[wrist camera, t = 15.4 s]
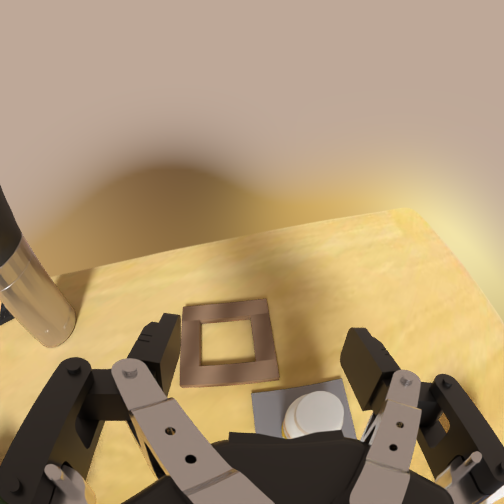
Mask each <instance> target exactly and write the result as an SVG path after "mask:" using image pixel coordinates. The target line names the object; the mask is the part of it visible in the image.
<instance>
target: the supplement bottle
mask: <svg viewBox="0 0 504 504" xmlns="http://www.w3.org/2000/svg"><path fill="white" fill-rule="evenodd" d="M343 416H344V408H343V405H342V403H341V401H340V400H339V398H338V397H337V396H335V395H334V394H332V393H330V392H326V391H315V392H312V393H309V394H306V395H303V396H301V397H299V398H297V399H296V400H295V401H294V402H293V403H292V404H291V405H290V406H289V408H288V410H287V412H286V414H285V418H284V421H283V423H282V428H281V434H282V438H285V439H292V438H296V437H300V436H304V435H308V434H311V433H315V432H323V431H334V430H341V428H342V425H343Z"/></svg>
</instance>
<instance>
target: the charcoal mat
mask: <svg viewBox="0 0 504 504" xmlns="http://www.w3.org/2000/svg"><path fill="white" fill-rule="evenodd" d="M315 391H326V392H330V393H332V394H334V395H335V396H337V397H338V398H339V400H340V401H341V403H342V405H343V408H344V416H343V425H342V428H341V430H342V432H343V435H344V437H347V438H353V439H356V440H357V438H356V434H355V429H354V425H353V421H352V417H351V413H350V409H349V405H348V401H347V397H346V393H345V389H344V385H343V381H342V378H341V379H337V380H332V381H328V382H323V383H318V384H313V385H307V386H302V387H296V388H289V389H283V390H276V391H268V392H260V393H251V395H252V404H253V413H254V422H255V430H256V433H259V434H264V435H269V436H274V437H279V438H282V434H281V428H282V423H283V421H284V418H285V414H286V412H287V410H288V408H289V406H290V405H291V404H292V403H293V402H294V401H295V400H296V399H297V398H299V397H301V396H303V395H306V394H309V393H312V392H315Z"/></svg>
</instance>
